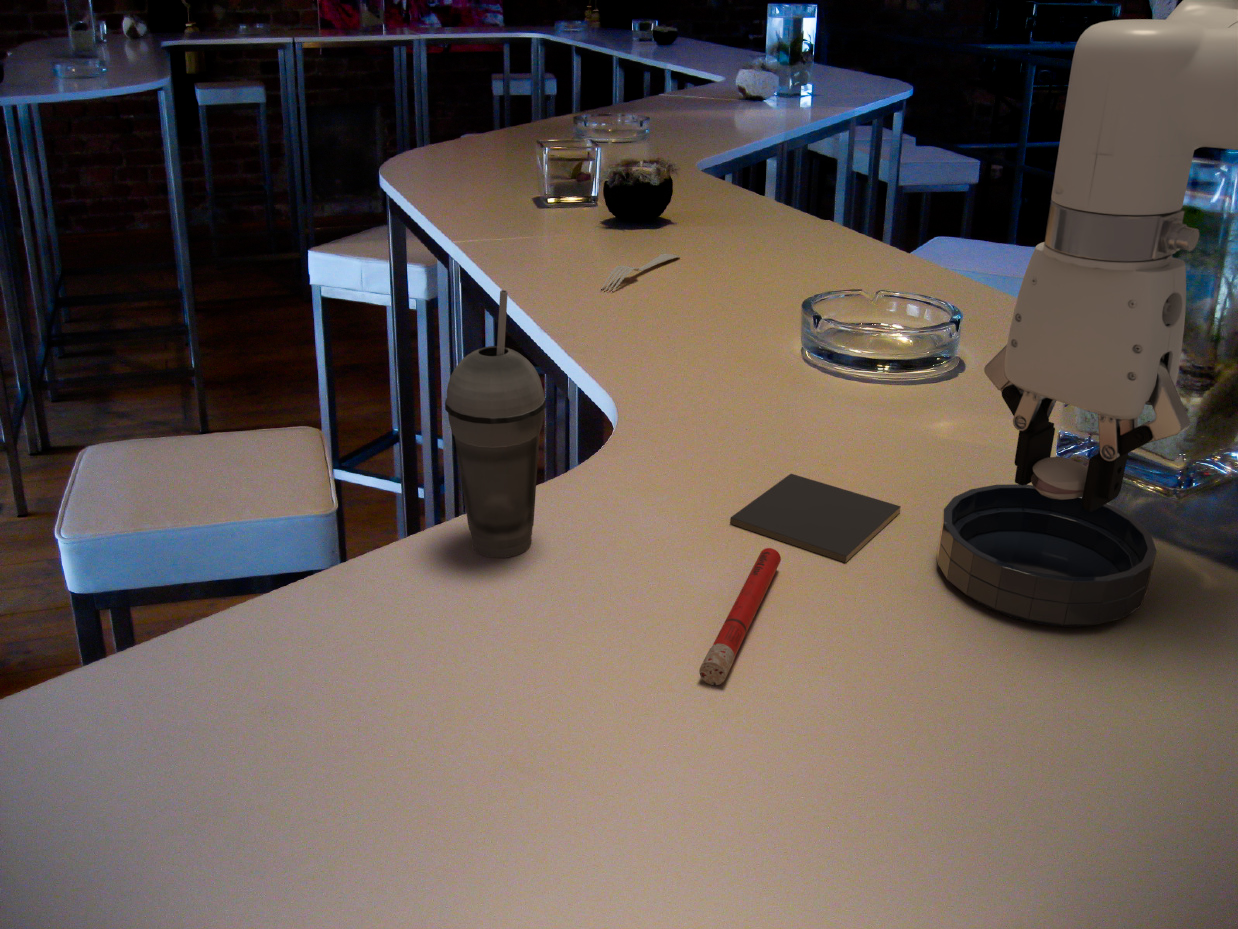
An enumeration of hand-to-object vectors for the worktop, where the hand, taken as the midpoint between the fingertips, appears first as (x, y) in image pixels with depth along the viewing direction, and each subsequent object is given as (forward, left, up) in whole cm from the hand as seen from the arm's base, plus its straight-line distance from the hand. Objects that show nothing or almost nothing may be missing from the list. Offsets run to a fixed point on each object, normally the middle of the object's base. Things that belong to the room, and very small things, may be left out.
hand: (1063, 489), depth 76 cm
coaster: (+7, -16, -7) cm, 19 cm away
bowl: (+1, 0, -7) cm, 7 cm away
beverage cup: (+29, -28, -7) cm, 41 cm away
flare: (+22, -9, -7) cm, 25 cm away
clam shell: (0, 0, -1) cm, 1 cm away
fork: (-28, -80, -7) cm, 86 cm away
